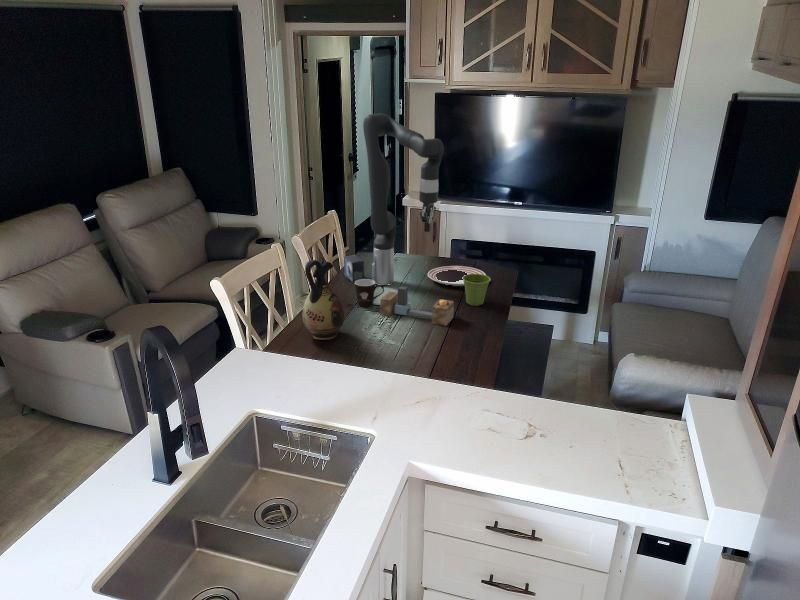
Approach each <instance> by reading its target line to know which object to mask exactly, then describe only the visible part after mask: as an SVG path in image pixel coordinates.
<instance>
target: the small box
mask: <svg viewBox="0 0 800 600" xmlns="http://www.w3.org/2000/svg"><path fill="white" fill-rule="evenodd" d="M343 274H344V275H345V276H346V277H347V278H348V279H350V280H351V281H352V282H354V281H357V280H360V279H365V260H364V259H362V258H360V257H359V256H357V255H356V254H352V255H346V256H343ZM344 275H343V276H344ZM347 278H346V279H347ZM348 279H347V280H348ZM352 282H351V283H352Z"/></svg>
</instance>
